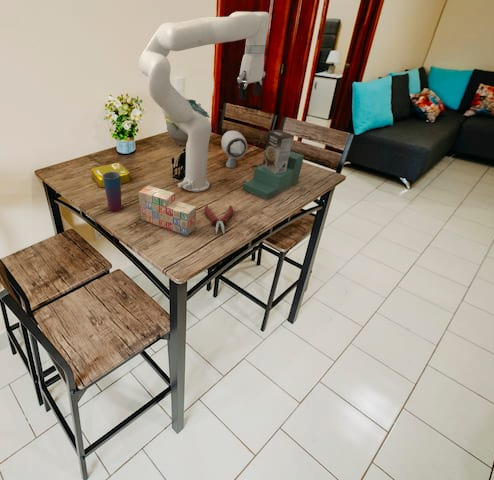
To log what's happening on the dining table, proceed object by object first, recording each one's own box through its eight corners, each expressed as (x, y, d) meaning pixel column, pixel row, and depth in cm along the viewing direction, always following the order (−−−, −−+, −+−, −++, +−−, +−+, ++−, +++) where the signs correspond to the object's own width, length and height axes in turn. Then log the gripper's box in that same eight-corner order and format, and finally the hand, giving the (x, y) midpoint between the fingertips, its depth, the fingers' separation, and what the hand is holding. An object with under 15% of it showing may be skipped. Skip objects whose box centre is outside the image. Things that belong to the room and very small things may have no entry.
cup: (115, 203, 142) (111, 169, 133) (127, 208, 138) (123, 174, 130) (103, 209, 138) (98, 175, 129) (115, 214, 134) (110, 180, 125)
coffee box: (261, 166, 151) (267, 130, 142) (273, 164, 153) (279, 128, 144) (274, 174, 144) (281, 137, 135) (286, 171, 146) (294, 135, 137)
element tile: (91, 176, 164) (90, 167, 161) (120, 170, 169) (119, 161, 167) (101, 188, 153) (99, 178, 150) (131, 181, 159) (130, 172, 156)
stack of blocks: (195, 228, 125) (197, 199, 118) (187, 236, 121) (187, 206, 114) (149, 212, 135) (148, 184, 128) (140, 219, 131) (138, 191, 124)
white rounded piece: (210, 172, 166) (212, 137, 156) (222, 158, 180) (225, 125, 170) (240, 177, 161) (244, 142, 150) (250, 162, 175) (255, 129, 165)
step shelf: (266, 199, 143) (271, 171, 135) (242, 189, 151) (245, 162, 143) (298, 182, 156) (304, 155, 149) (273, 173, 164) (278, 147, 157)
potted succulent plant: (185, 133, 215) (186, 92, 200) (214, 143, 199) (217, 100, 185) (155, 142, 202) (153, 99, 188) (182, 154, 186) (183, 108, 172)
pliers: (204, 236, 121) (204, 230, 119) (204, 208, 137) (204, 203, 136) (236, 238, 120) (237, 232, 119) (232, 209, 136) (232, 204, 135)
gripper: (260, 47, 137) (254, 92, 147) (233, 51, 128) (228, 99, 138) (275, 49, 133) (268, 95, 143) (249, 53, 123) (243, 102, 133)
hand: (249, 97), depth 140 cm, fingers open, 9 cm apart
